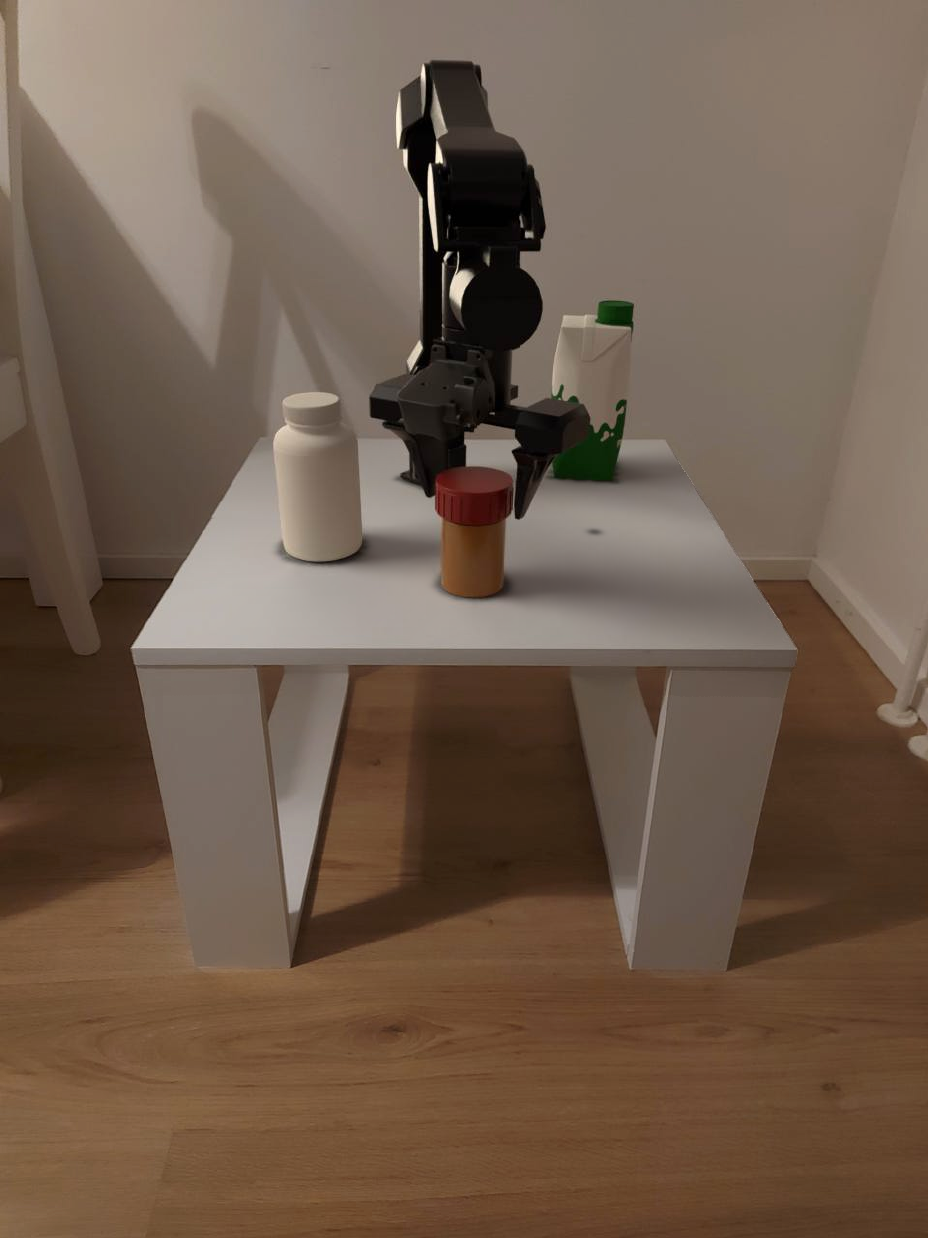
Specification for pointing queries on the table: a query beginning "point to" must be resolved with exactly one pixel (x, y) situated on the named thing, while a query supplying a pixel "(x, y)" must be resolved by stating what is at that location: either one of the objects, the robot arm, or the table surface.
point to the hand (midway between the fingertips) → (474, 506)
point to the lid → (474, 495)
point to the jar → (472, 558)
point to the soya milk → (595, 386)
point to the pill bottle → (317, 479)
